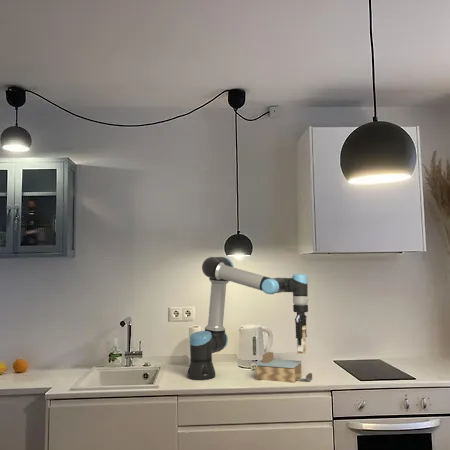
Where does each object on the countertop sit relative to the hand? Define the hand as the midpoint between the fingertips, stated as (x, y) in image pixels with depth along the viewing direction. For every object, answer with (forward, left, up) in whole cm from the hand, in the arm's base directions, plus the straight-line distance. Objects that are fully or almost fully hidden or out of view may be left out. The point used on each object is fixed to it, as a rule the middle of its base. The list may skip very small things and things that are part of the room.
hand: (301, 350), depth 228 cm
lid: (-12, 0, -8) cm, 15 cm away
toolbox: (-9, 0, -15) cm, 18 cm away
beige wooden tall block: (0, 0, -1) cm, 1 cm away
